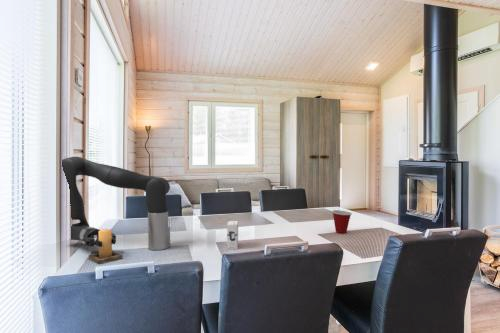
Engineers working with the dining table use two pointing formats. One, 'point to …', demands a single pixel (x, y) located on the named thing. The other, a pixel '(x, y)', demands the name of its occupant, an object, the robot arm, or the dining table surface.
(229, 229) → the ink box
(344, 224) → the plastic cup
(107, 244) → the yellow tall block
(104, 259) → the walnut collar
